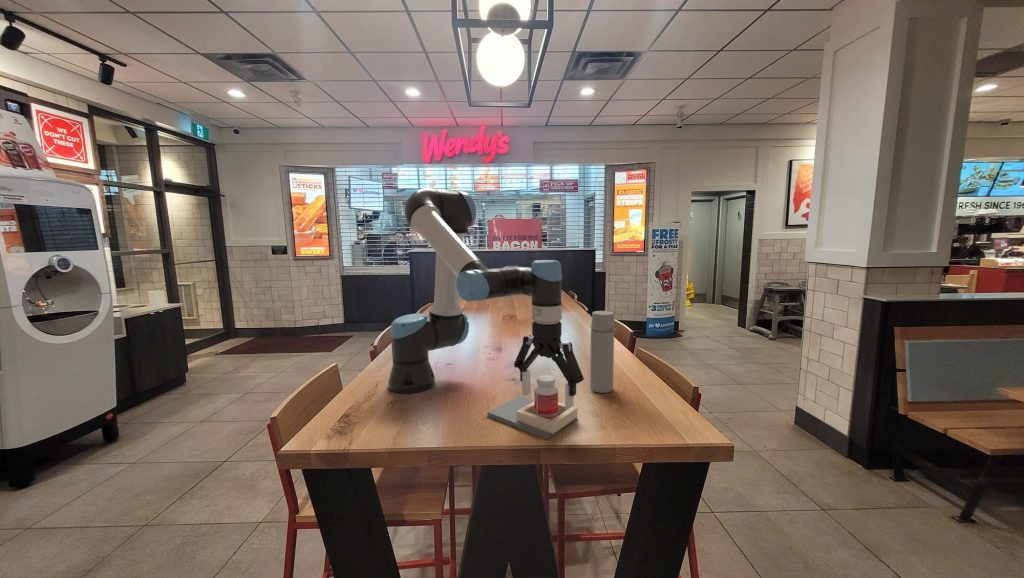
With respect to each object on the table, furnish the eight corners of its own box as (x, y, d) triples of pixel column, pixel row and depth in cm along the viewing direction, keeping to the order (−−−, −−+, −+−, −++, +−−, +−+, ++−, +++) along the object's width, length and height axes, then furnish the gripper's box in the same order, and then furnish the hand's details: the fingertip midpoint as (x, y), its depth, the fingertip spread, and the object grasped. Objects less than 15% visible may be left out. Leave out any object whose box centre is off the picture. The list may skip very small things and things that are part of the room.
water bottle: (604, 396, 118) (606, 316, 115) (584, 389, 124) (585, 312, 121) (621, 388, 124) (623, 311, 121) (601, 381, 130) (602, 308, 127)
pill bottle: (562, 419, 101) (562, 379, 100) (544, 426, 98) (544, 384, 96) (547, 411, 106) (547, 372, 105) (529, 417, 103) (529, 377, 102)
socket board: (487, 416, 107) (487, 403, 106) (519, 399, 117) (519, 387, 117) (550, 440, 93) (550, 426, 93) (579, 419, 104) (579, 406, 103)
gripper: (500, 317, 104) (501, 393, 107) (582, 330, 88) (581, 419, 91) (518, 313, 109) (519, 384, 112) (598, 324, 93) (596, 408, 96)
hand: (547, 400), depth 101 cm, fingers open, 13 cm apart
